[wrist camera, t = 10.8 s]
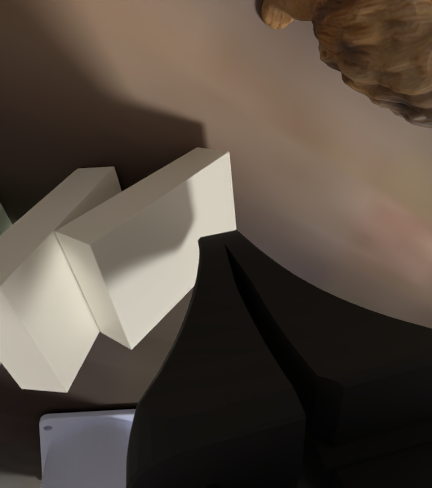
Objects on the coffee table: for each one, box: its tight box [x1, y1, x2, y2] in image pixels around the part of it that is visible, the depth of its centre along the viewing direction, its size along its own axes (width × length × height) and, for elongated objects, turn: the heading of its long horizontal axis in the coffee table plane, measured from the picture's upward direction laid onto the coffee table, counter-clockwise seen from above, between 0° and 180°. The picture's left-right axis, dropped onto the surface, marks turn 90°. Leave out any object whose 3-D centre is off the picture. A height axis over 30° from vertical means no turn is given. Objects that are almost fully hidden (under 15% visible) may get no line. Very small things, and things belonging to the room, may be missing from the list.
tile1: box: [55, 147, 236, 350], centre depth 13 cm, size 2×4×7 cm
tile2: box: [0, 167, 122, 393], centre depth 12 cm, size 2×4×7 cm, turn 6°
